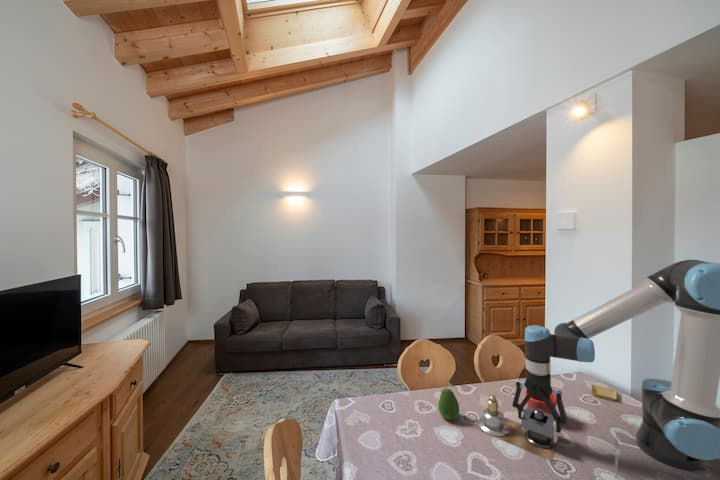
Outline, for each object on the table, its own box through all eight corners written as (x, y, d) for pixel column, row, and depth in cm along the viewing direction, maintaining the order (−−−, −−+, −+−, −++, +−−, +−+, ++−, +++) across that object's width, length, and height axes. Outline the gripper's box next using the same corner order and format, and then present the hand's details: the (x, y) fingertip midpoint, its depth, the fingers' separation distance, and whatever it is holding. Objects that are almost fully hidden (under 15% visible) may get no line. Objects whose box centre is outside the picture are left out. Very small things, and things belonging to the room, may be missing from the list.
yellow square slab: (616, 394, 130) (616, 390, 130) (616, 403, 123) (616, 398, 123) (591, 388, 135) (591, 384, 135) (591, 396, 129) (590, 392, 129)
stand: (556, 438, 102) (555, 409, 102) (552, 453, 96) (551, 422, 96) (527, 427, 108) (527, 400, 108) (521, 440, 102) (521, 411, 102)
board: (558, 439, 103) (558, 437, 103) (551, 463, 92) (551, 461, 92) (486, 412, 120) (486, 410, 120) (473, 430, 109) (473, 428, 109)
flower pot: (563, 429, 108) (562, 403, 108) (531, 426, 110) (530, 401, 110) (550, 411, 119) (550, 388, 119) (521, 409, 121) (521, 386, 121)
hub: (513, 425, 110) (512, 395, 110) (504, 441, 102) (504, 408, 102) (483, 414, 117) (482, 385, 117) (473, 428, 109) (472, 397, 109)
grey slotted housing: (556, 424, 102) (556, 416, 102) (551, 438, 96) (551, 429, 96) (527, 414, 108) (527, 406, 108) (521, 426, 102) (521, 418, 102)
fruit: (442, 410, 122) (441, 382, 122) (461, 417, 117) (461, 387, 117) (436, 420, 115) (435, 391, 115) (455, 428, 111) (455, 397, 110)
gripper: (577, 376, 97) (578, 442, 98) (507, 359, 112) (508, 416, 112) (574, 385, 92) (576, 455, 92) (501, 366, 106) (503, 426, 107)
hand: (539, 433), depth 102 cm, fingers closed on grey slotted housing, 9 cm apart
